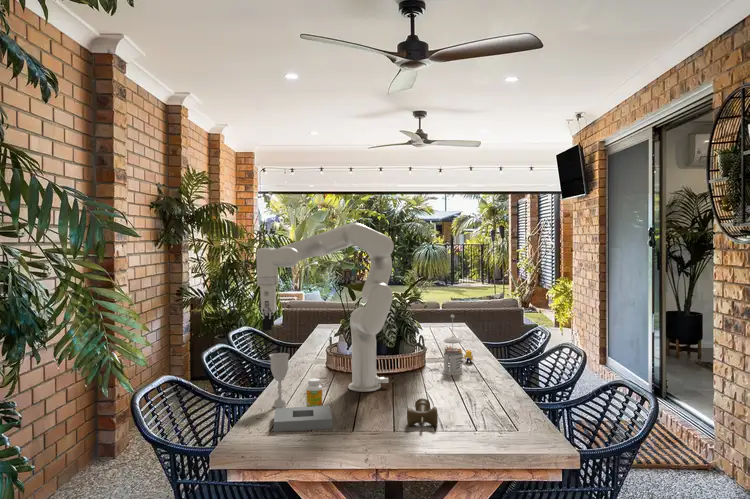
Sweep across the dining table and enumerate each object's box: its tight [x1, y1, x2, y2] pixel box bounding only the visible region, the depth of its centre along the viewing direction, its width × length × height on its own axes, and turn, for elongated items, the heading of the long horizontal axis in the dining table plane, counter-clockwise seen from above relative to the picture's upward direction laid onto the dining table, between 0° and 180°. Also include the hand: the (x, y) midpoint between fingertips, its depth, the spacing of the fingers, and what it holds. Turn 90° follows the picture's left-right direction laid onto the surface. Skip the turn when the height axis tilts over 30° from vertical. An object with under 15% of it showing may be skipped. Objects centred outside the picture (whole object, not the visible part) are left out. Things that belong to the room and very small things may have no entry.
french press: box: [441, 314, 465, 376], centre depth 249 cm, size 10×12×25 cm
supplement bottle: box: [306, 377, 323, 407], centre depth 202 cm, size 5×5×10 cm
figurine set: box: [444, 346, 474, 364], centre depth 271 cm, size 3×16×7 cm, turn 45°
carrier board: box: [273, 405, 334, 432], centre depth 186 cm, size 18×14×3 cm
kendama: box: [406, 398, 439, 428], centre depth 186 cm, size 6×10×20 cm
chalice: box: [268, 352, 290, 409], centre depth 204 cm, size 7×7×18 cm
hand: (268, 327), depth 213 cm, fingers open, 9 cm apart
